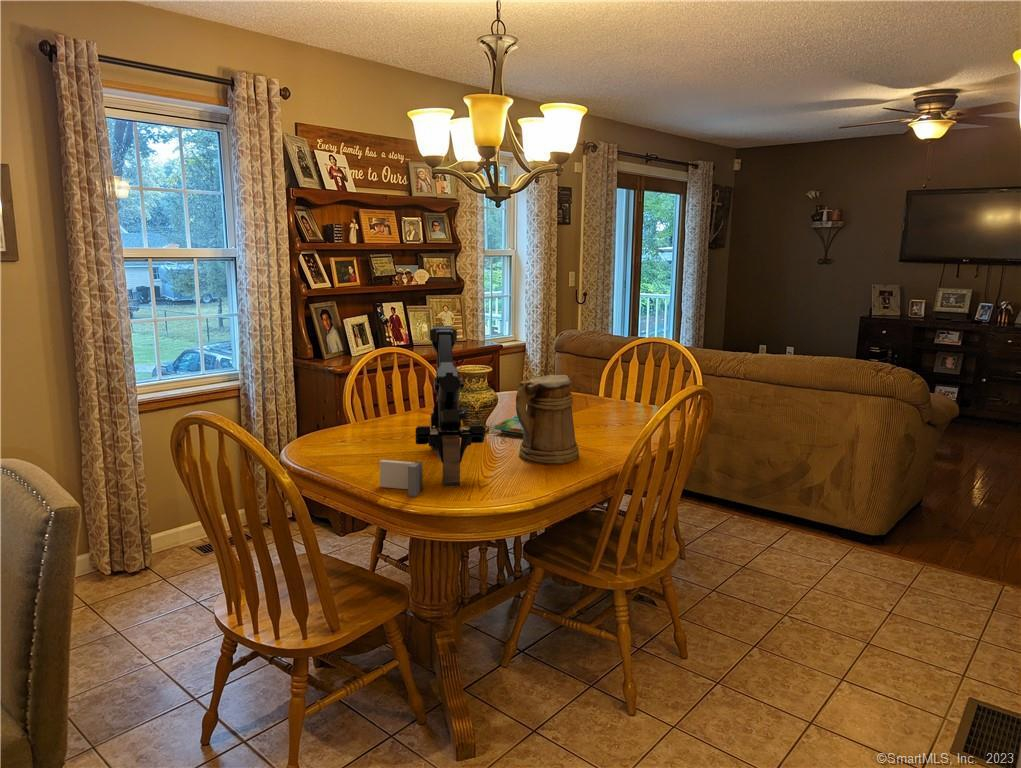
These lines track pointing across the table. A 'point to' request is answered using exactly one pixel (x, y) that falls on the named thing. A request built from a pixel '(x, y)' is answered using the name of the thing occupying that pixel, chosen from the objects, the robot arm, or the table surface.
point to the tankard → (546, 420)
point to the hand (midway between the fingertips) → (451, 462)
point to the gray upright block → (413, 480)
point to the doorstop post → (451, 460)
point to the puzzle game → (511, 426)
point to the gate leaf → (397, 474)
